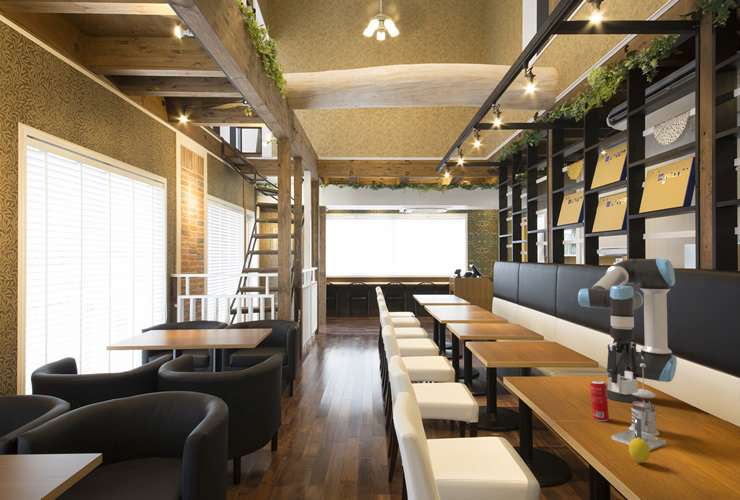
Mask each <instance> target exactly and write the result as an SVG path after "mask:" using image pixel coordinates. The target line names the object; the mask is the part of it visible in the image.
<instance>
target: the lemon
mask: <svg viewBox="0 0 740 500" xmlns="http://www.w3.org/2000/svg"><path fill="white" fill-rule="evenodd" d="M628 452H629V454H630V457H631V458H632V459H633V460H634V461H636V462H637V464H642V463H646V462H647V461H648V460H649V459H650V454H651V450H649V446H648V444H647V443H646V442H645V441H644V440H643V439H641V438H640V437H638V438H635V439H633V440H632V441H631V442H630V445H628Z"/></svg>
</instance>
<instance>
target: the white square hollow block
mask: <svg viewBox="0 0 740 500" xmlns="http://www.w3.org/2000/svg"><path fill="white" fill-rule="evenodd" d="M611 380H612V379H611V377H608V376H607V379H606V381H607V382H606V384H607V390H610V391H612V381H611ZM638 383H639V381H638V379H637V380H636V379H632V378H627V377H623V376H620V393H621V394H625V395H627V394H632V393H637V392H638V387H639V384H638Z"/></svg>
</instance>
